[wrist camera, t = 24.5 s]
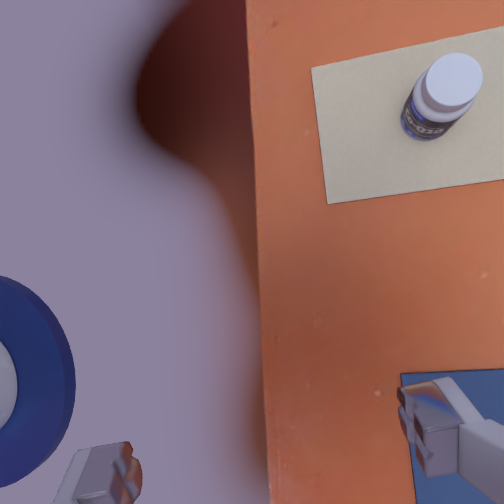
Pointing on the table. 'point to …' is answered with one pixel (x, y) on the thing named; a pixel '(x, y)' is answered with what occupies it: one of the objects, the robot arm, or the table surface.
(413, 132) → the pill bottle
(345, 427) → the table surface
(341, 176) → the cream mat
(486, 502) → the blue mat
